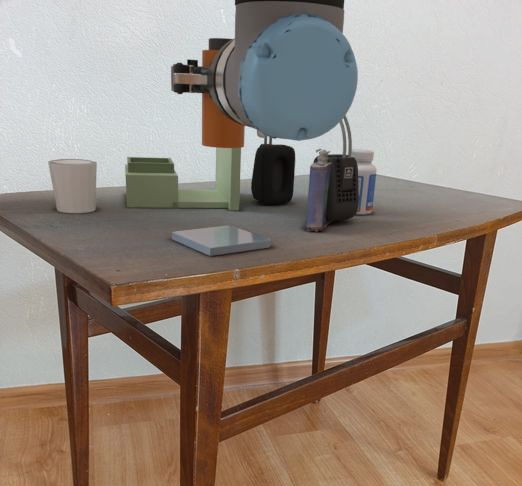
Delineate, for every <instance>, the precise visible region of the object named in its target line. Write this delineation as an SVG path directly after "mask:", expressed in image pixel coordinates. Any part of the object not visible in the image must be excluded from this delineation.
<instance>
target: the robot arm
mask: <svg viewBox="0 0 522 486" xmlns="http://www.w3.org/2000/svg"><path fill="white" fill-rule="evenodd" d="M234 6H235V13H234V38H231V39H232V40H230V41H229V42H227V43H226V44H225V45H224V46H223V47H222V48H221V49H220V50H219V51H218V53H217V54H216V56H215V57H214V59H213V61H211V62H210V66H209V67H202V65H201V66H200V65H199V60H198V59H186V64H184V63H183V62H176V63H173V64H172V65H171V66H170V87H171V88H170V89H171V91H172V92H173V93H176V94H177V95H183V94H184V93H185V94H187V93H188V94H202V93H209V95H210V98H211V99H213V101H214V103H215V104H216V106H217V108H218V109H219V110H220V111H221V113H222V114H223V115H224V116H226V117H227V118H228V119H230V120H232V121H233V122H236V123H238V124H241V125H244V126H245V127H248V128H251V129H255V130H256V135H257V137H258V138H261V139H264V138H266V137H267V138H269V137H271V138H272V139H274V140H276V139H280V140H281V139H282V140H290V141H298V142H301V141H307V140H313V139H316V138H319V137H321V136H323V135H325V134H327V133H328V132H330V131H331V130H333V129H334V128H335V127H337V125H338V124H340V123H339V122H340V121H341V120H342V121H343V120H344V119H343V118H344V116H345V115H346V116H347V113H348V112H349V110H350V109H351V107H352V104H353V102H354V100H355V96H356V94H357V93H356V92H357V88H358V80H359V74H358V73H359V70H358V66H357V65H358V64H357V60H356V57H355V53H354V50H353V49H352V46H351V43H350V41H349V40H348V38H347V37H346V36H345V35H344V34H343V33H344V24H345V0H234Z"/></svg>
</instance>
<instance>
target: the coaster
mask: <svg viewBox="0 0 522 486" xmlns="http://www.w3.org/2000/svg"><path fill="white" fill-rule="evenodd" d="M171 240H172V241H175V242H176V243H180V244H181V245H184V246H186V247H188V248H191V249H193V250H195V251H198V252H200V253H202V254H204V255H206V256H208V257H213V256H220V255H221V256H222V255H227V254H234V253H235V254H236V253H240V252H248V251H255V250H262V249H263V250H264V249H270V248H271V242H272V241H271V238H267V237H264V236H261V235H258V234H255V233H254V232H250V231H247V230H244V229H242V228H239V227H236V226H233V225H230V224H229V225H221V226H220V225H219V226H213V227H212V226H210V227H204V228H203V227H201V228H194V229H185V230H176V231H172V232H171Z"/></svg>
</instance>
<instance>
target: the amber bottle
mask: <svg viewBox="0 0 522 486" xmlns="http://www.w3.org/2000/svg"><path fill="white" fill-rule="evenodd" d="M232 39H233V38H225V37H209V38H208V49H203V50H201V52H202V53H201V66H202V67H209V66H210V62H211V61H213V59H214V57H215V56H216V54H217V53H218V51H219V50H220V49H221V48H222V47H223V46H224V45H225V44H226V43H227V42H229V41H230V40H232ZM245 127H246V126H244V125H241V124H238V123H236V122H233V121H232V120H230V119H228V118H227V117H226V116H224V115H223V114H222V113H221V111H220V110H219V109H218V108H217V106H216V104H215V103H214V101H213V99H211V98H210V95H209V93H201V145H202V146H204V147H208V148H215V149H216V148H241V149H242V148H245V134H246V133H245V131H246V130H245V129H246V128H245Z"/></svg>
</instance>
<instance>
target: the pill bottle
mask: <svg viewBox="0 0 522 486" xmlns="http://www.w3.org/2000/svg"><path fill="white" fill-rule="evenodd" d="M374 154H375V152H374V150H371V149H358V148H357V149H356V148H355V149H353V148H352V153H351V157H354V158H355V160H356V161H357V165H358V184H359V205H358V210H357V213H356V215H355V216H357V215H358V216H361V215H370V214H371V213H372V212H373V206H374V199H375V189H376V182H377V181H376V179H377V167H376V166H375V165H374V164H373V161H374V156H375V155H374Z"/></svg>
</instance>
